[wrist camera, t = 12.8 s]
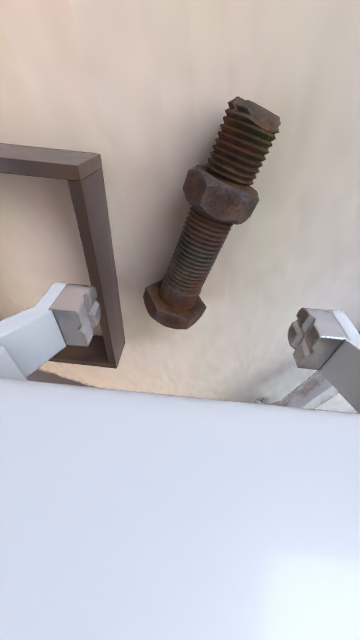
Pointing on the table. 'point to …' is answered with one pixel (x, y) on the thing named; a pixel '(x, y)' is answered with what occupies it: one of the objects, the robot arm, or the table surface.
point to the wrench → (307, 393)
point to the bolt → (213, 211)
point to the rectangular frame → (94, 236)
